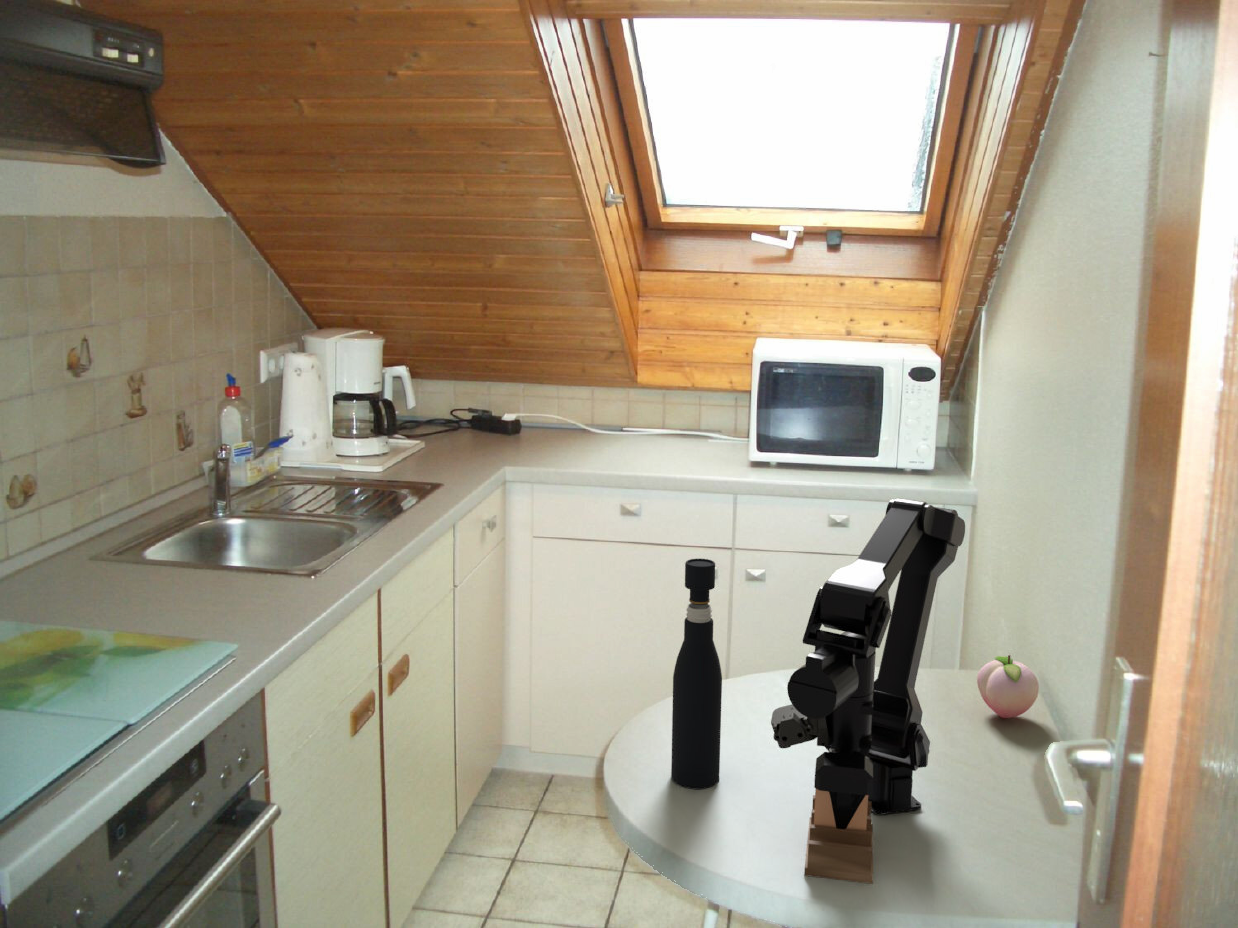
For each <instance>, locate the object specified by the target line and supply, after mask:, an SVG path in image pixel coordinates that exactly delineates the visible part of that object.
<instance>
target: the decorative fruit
mask: <svg viewBox="0 0 1238 928" xmlns="http://www.w3.org/2000/svg"><path fill="white" fill-rule="evenodd" d="M976 684H977V688H978V690H979V693H980V696H981V698H982V700H983V702H984V703H985V704H986V705H987V707H989V709H991V711H993V712H994V713H995V714H996V715H998V716H999V717H1000V718H1003V719H1010V718H1014V717H1019V716H1021V715H1023V714H1025V713H1026V712H1027V711H1029V709H1031V707H1032V706H1033V705H1035V702H1036V700H1037V699H1038V695H1039V692H1040V691H1039V690H1040V686H1039V681H1038V679H1037V677H1036V675H1035V673H1034V672H1033V671H1032V670H1031V669H1030V668H1029V667H1028V666H1027V665H1025V664H1023V663H1022V662H1019V661H1018V660H1017V661H1016V660H1013V659H1012V658H1011V654H1008V655H1007V656H1005V655H1003V656H1001V655H997V656H995V657H994V660H991V661H989V662H988V663H986V664H984V665H983V666H982V667H981V669H980V670H979V672H978V673H977V676H976Z"/></svg>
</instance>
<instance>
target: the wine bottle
mask: <svg viewBox="0 0 1238 928" xmlns="http://www.w3.org/2000/svg"><path fill="white" fill-rule="evenodd" d="M715 583H716V563H715V561H714V560H711V559H708V558H691V559H688V560H686V561H685V562H684V587H685V588H686V589H687V590H689V599H688V602H690V603H689V604H687V607H686V614H685V615H686V617H685V619H684V622H683V623H684V627H683V629H684V631H683V633H684V634H683V641H682V644H681V646H680V649H679V652H678V654H677V657H676V661H675V665H674V670H673V676H672V711H671V712H672V713H671V716H672V718H671V721H672V723H671V726H672V727H671V770H670V771H671V773H670V774H671V775H670V777H671V779H672V782H674V784H676V785H677V786H680V787H683V788H686V789H694V790H701V789H702V790H703V789H708V788H711V787H713V786H715V785H716V784H717V783H719V780H720V768H721V767H720V763H721V761H720V760H721V732H722V731H721V730H722V729H721V728H722V727H721V725H722V693H723V691H722V690H723V675H722V667H721V662H720V658H719V654H718V651H717V648H716V644H715V641H714V619H713V618H712V616H713V614H712V611H713V609H712V606H711V604H710V591H711V590H714V589H715V586H716V585H715Z"/></svg>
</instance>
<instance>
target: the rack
mask: <svg viewBox="0 0 1238 928" xmlns="http://www.w3.org/2000/svg"><path fill="white" fill-rule="evenodd" d="M811 808H812V809H811V813H810V817H809V819H808V820H809V821H808V831H807V841H806V852H805V859H804V860H805V863H804V872H803V873H804V875H803V876H806V877H816V878H821V879H822V878H823V879H831V880H838V881H839V880H840V881H845V882H846V881H847V882H855V883H864V884H874V836H873V835H874V828H873V827H874V825H873V824H872V820H873V819H872V810H871V801H868V808H867V825H866V831H865V830H856V829H847V828H846V829H845V830H843V829H837V828H836V827H830V826H821V825H814V811H815V795H814V794H813V795H812V807H811Z"/></svg>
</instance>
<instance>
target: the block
mask: <svg viewBox="0 0 1238 928" xmlns="http://www.w3.org/2000/svg"><path fill="white" fill-rule="evenodd" d="M814 789H815V793H814V794H815V811H814V825H821V826H830V827H836V825H835V819H834V814H833V809H832V804H831V799H830V794H829V792H828V791H820V790H818V789H816V788H814ZM867 808H868V795H866V796H865V797H864V799H863V801H862V802H861V804H860V805H859V807H858V809H857V811H856V812H855V814H854V816H853V818H852V819H851V821H850V823H849V825H848V826H847V829H856V830H865V831H866V825H867Z"/></svg>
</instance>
